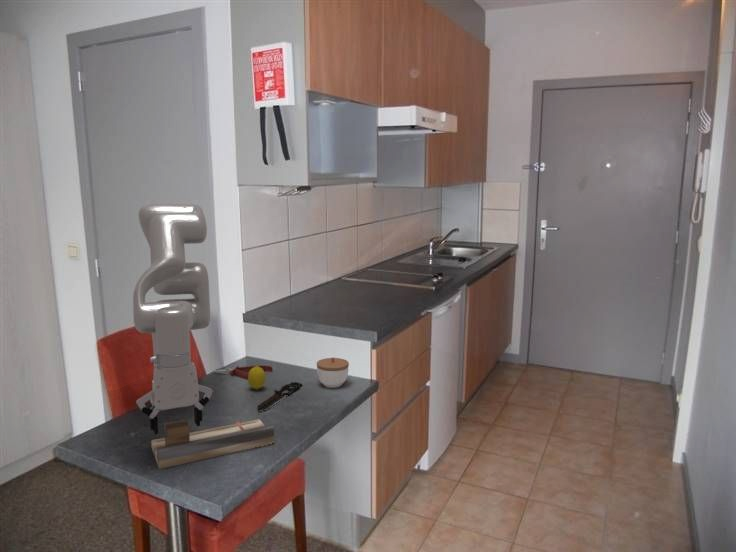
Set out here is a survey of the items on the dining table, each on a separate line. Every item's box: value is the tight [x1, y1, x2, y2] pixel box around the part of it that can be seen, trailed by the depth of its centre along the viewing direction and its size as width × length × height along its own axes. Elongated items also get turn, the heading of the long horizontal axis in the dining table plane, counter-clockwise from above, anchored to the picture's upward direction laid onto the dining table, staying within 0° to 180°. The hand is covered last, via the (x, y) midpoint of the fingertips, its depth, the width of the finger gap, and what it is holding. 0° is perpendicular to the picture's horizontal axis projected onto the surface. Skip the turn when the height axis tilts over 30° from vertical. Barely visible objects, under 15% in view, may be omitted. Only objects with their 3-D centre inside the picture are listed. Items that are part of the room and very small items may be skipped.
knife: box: [257, 381, 304, 412], centre depth 171 cm, size 25×6×1 cm, turn 154°
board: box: [150, 418, 275, 470], centre depth 139 cm, size 13×28×4 cm, turn 119°
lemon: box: [247, 365, 266, 391], centre depth 177 cm, size 6×6×8 cm
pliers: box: [212, 365, 273, 381], centre depth 192 cm, size 12×20×3 cm, turn 82°
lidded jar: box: [316, 357, 350, 389], centre depth 183 cm, size 11×11×9 cm
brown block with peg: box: [164, 419, 190, 446], centre depth 134 cm, size 9×5×6 cm, turn 29°
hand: (176, 428), depth 131 cm, fingers open, 9 cm apart
